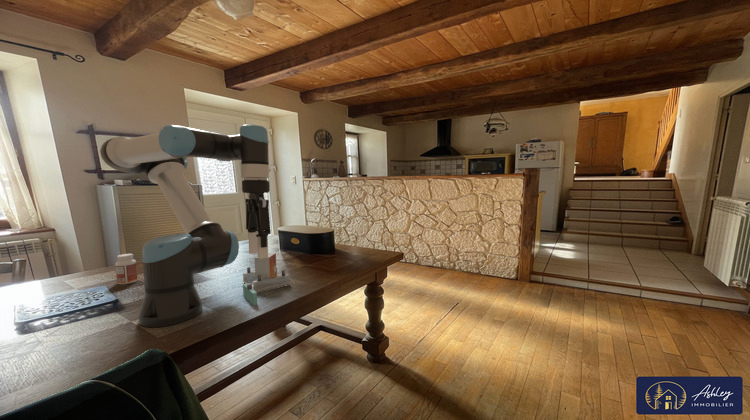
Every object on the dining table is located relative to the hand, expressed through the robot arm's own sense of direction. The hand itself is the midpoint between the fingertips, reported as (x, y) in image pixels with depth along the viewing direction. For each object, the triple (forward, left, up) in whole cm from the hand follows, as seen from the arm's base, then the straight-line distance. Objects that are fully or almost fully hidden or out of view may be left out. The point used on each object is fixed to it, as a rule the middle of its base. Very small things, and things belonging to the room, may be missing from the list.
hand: (258, 255), depth 85 cm
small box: (+10, +22, -16) cm, 29 cm away
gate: (0, +11, -17) cm, 20 cm away
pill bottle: (-32, +61, -17) cm, 71 cm away
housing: (+10, +23, -17) cm, 30 cm away
